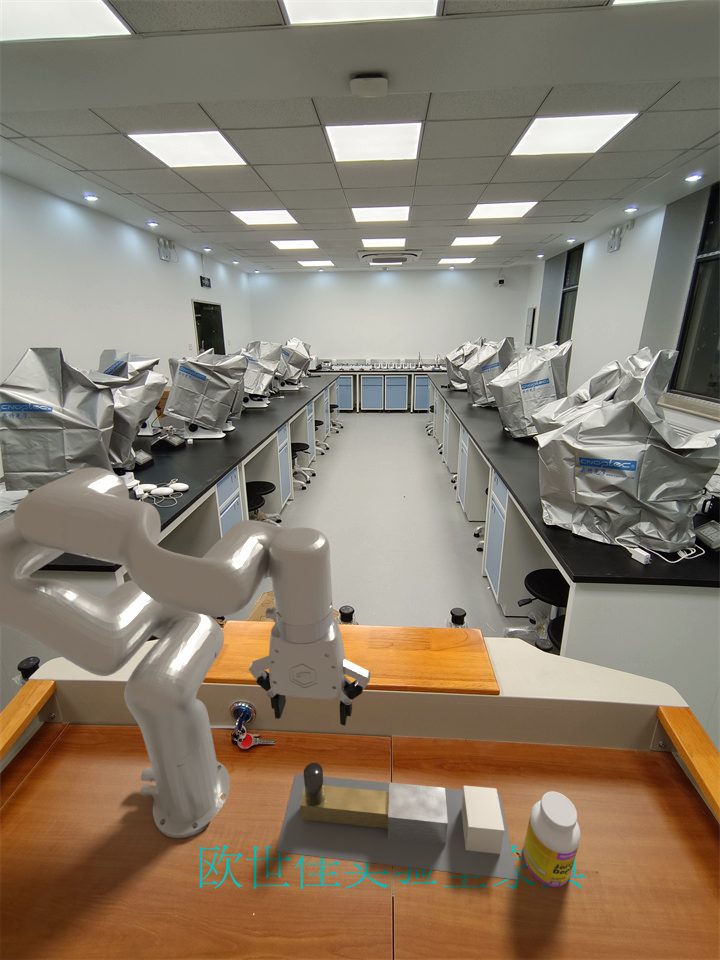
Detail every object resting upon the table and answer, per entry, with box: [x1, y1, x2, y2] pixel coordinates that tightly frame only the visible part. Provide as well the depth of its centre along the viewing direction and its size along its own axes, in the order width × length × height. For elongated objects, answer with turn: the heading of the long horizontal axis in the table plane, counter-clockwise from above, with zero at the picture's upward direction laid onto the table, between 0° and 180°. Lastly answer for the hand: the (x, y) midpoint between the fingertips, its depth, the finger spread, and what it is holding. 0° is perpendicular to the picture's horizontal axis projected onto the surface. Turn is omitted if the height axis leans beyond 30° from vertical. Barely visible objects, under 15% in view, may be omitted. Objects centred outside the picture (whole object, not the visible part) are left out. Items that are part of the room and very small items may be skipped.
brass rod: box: [300, 762, 389, 828], centre depth 67 cm, size 22×3×9 cm, turn 84°
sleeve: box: [388, 782, 448, 845], centre depth 68 cm, size 9×5×5 cm, turn 84°
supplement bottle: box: [522, 791, 581, 888], centre depth 62 cm, size 7×7×13 cm
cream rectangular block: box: [461, 785, 505, 854], centre depth 67 cm, size 5×6×6 cm
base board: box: [276, 773, 518, 881], centre depth 69 cm, size 36×12×1 cm, turn 84°
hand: (312, 713), depth 62 cm, fingers open, 9 cm apart
